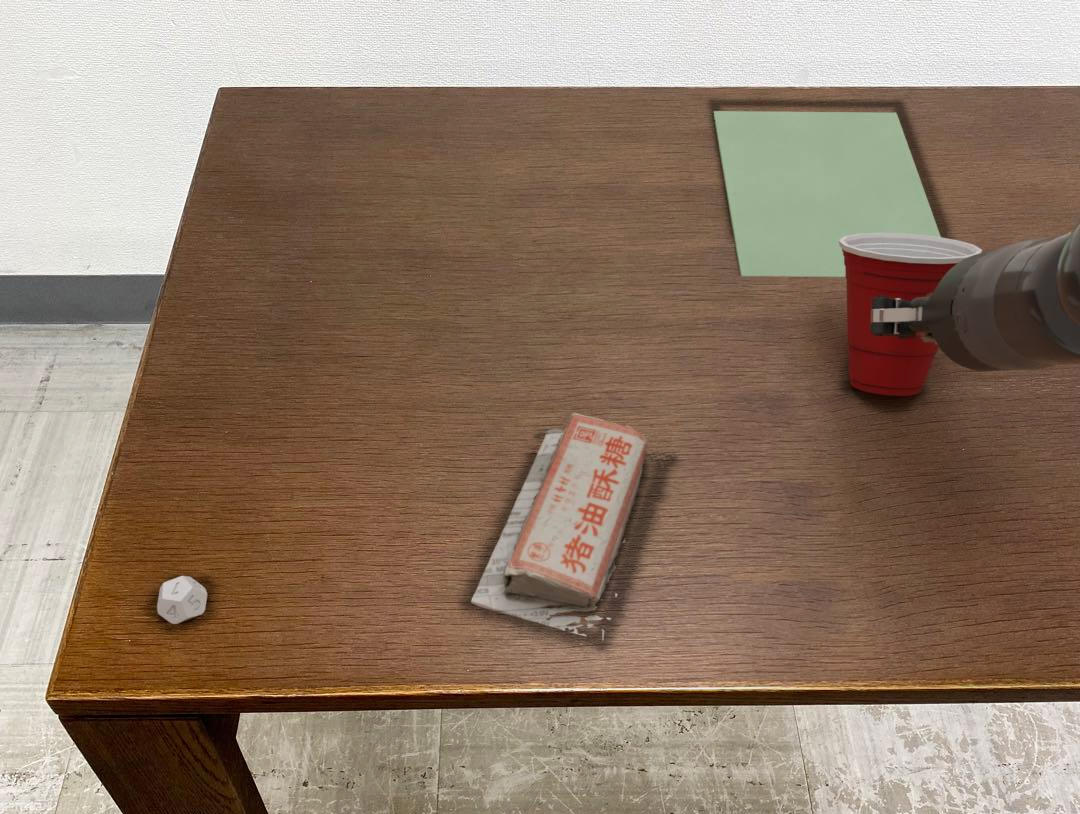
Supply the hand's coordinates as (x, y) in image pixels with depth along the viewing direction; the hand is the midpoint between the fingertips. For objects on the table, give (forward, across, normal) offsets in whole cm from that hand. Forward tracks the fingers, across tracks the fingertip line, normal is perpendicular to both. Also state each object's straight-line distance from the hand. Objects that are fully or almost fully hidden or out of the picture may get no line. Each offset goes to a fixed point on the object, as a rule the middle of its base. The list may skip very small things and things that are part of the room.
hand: (915, 323), depth 79 cm
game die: (-8, +54, +21) cm, 59 cm away
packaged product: (-3, +26, +16) cm, 31 cm away
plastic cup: (+6, 0, +5) cm, 8 cm away
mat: (+26, 0, -13) cm, 30 cm away
